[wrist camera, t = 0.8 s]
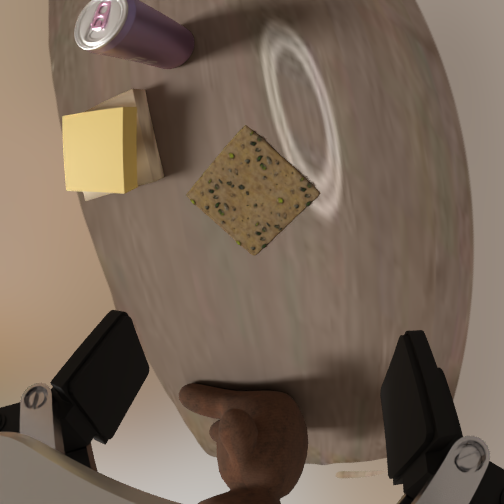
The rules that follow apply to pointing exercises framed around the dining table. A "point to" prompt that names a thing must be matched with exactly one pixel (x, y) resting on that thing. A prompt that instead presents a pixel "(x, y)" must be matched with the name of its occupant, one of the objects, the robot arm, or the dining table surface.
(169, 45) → the beverage can
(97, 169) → the tower top
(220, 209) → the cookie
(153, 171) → the tower base
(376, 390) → the dining table surface
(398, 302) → the dining table surface
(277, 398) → the stuffed bear
